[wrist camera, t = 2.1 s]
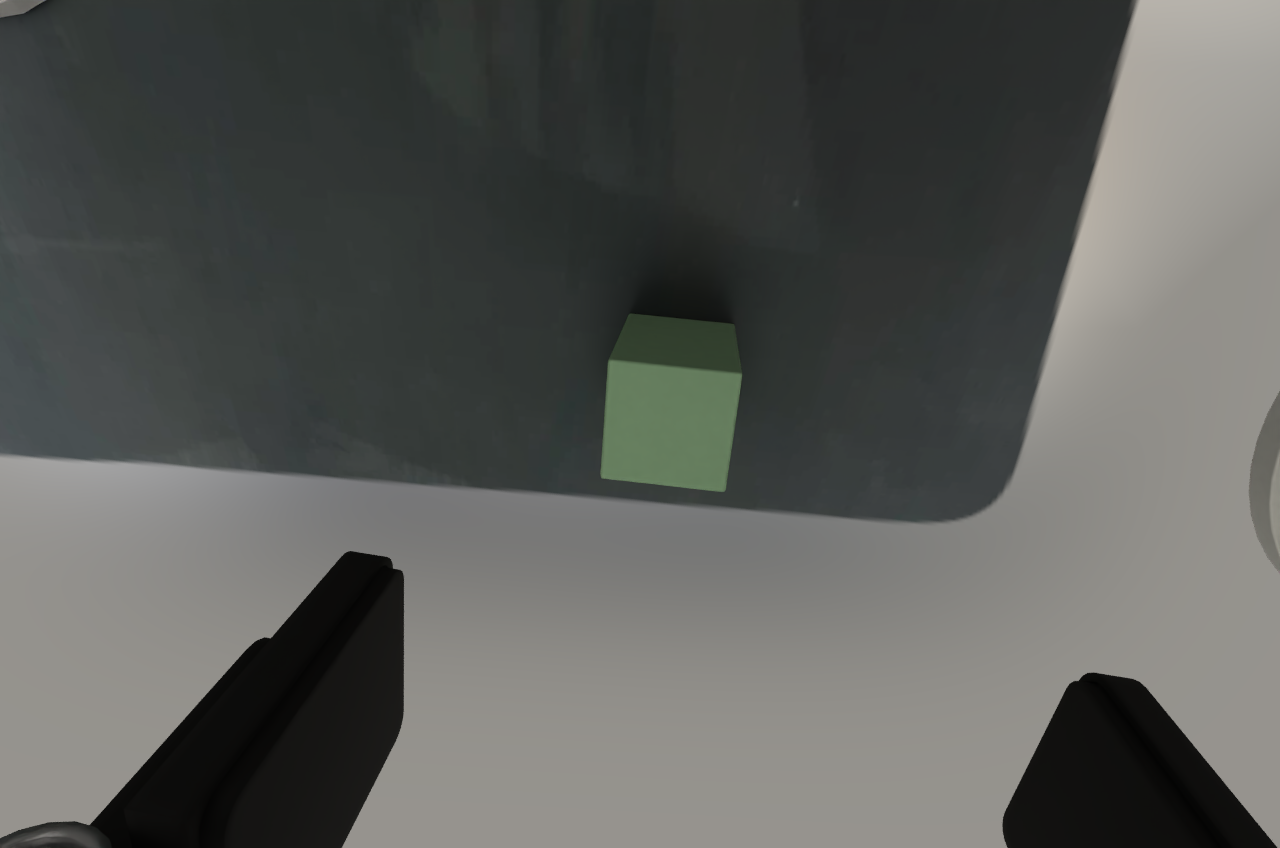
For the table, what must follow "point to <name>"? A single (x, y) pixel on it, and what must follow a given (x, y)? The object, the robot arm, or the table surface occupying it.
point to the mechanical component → (17, 6)
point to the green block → (671, 403)
